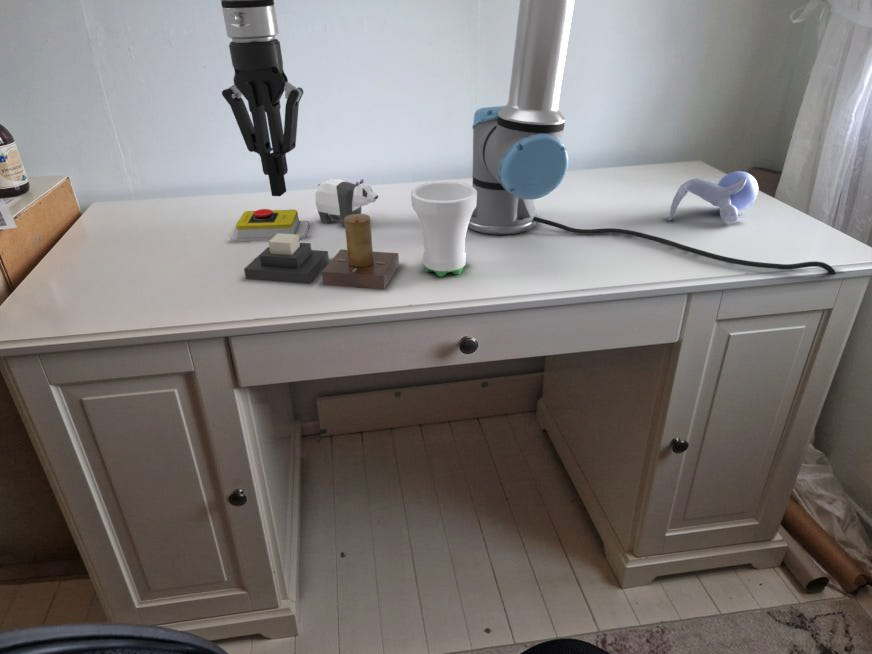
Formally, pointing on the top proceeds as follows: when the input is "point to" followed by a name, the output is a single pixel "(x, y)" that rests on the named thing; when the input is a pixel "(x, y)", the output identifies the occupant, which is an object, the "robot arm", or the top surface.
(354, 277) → the volume panel
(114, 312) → the top surface
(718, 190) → the seal
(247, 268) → the grey stepped base
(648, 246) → the top surface
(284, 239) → the cream square push button
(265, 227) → the emergency button
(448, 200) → the cup
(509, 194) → the robot arm
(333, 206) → the giant panda
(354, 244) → the volume knob
